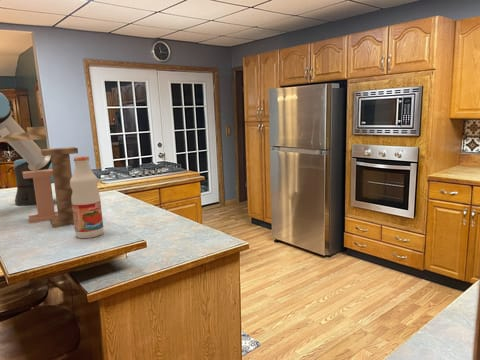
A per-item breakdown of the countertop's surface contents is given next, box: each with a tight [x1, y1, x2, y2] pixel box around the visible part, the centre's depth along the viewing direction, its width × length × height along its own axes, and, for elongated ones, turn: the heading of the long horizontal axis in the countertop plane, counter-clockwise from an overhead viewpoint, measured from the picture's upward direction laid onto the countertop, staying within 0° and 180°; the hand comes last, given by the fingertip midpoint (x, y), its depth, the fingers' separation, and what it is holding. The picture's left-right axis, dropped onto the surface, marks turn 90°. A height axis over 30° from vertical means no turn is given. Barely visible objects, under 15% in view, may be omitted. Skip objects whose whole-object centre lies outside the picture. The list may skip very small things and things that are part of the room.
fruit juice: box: [70, 155, 104, 239], centre depth 128 cm, size 9×9×28 cm
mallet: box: [0, 126, 48, 143], centre depth 144 cm, size 20×7×5 cm, turn 123°
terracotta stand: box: [22, 169, 59, 224], centre depth 153 cm, size 13×8×20 cm, turn 123°
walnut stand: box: [40, 146, 79, 228], centre depth 145 cm, size 12×9×30 cm
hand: (7, 130), depth 142 cm, fingers closed on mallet, 3 cm apart
